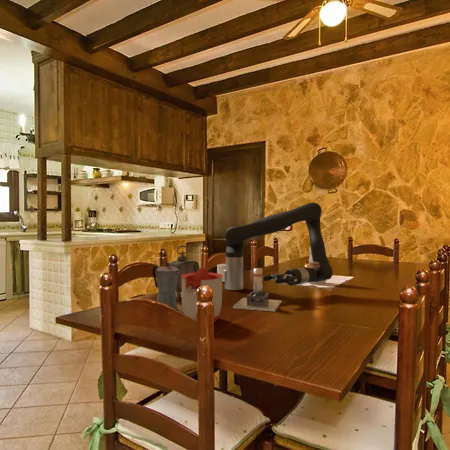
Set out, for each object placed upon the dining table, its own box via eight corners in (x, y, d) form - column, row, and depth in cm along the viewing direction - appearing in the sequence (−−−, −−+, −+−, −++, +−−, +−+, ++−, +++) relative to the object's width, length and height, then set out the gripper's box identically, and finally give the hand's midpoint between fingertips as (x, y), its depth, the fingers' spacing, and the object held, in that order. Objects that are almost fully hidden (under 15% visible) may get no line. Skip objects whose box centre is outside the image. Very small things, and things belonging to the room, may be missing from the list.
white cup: (232, 280, 217) (232, 264, 217) (227, 283, 210) (227, 266, 209) (219, 280, 220) (219, 263, 219) (215, 282, 212) (215, 265, 212)
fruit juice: (305, 283, 209) (305, 234, 208) (314, 281, 215) (314, 233, 214) (320, 285, 202) (320, 235, 201) (328, 283, 208) (329, 234, 208)
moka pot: (172, 315, 143) (171, 264, 142) (143, 310, 151) (143, 262, 150) (187, 310, 151) (186, 262, 150) (159, 305, 159) (159, 259, 158)
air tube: (252, 303, 157) (252, 269, 156) (254, 301, 161) (254, 267, 160) (261, 304, 155) (261, 269, 155) (263, 302, 159) (263, 268, 159)
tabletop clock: (176, 301, 165) (176, 247, 165) (164, 298, 171) (163, 246, 171) (199, 296, 176) (199, 245, 175) (187, 293, 182) (187, 244, 181)
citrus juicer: (171, 325, 130) (170, 269, 129) (192, 313, 146) (192, 263, 146) (210, 330, 124) (210, 272, 124) (229, 317, 140) (228, 265, 140)
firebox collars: (232, 308, 153) (232, 297, 153) (242, 299, 168) (242, 289, 168) (275, 311, 148) (275, 300, 147) (281, 302, 163) (281, 291, 163)
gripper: (286, 266, 176) (259, 269, 167) (307, 270, 163) (280, 273, 155) (286, 282, 176) (260, 285, 167) (307, 287, 164) (280, 291, 155)
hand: (269, 280), depth 161 cm, fingers open, 8 cm apart
